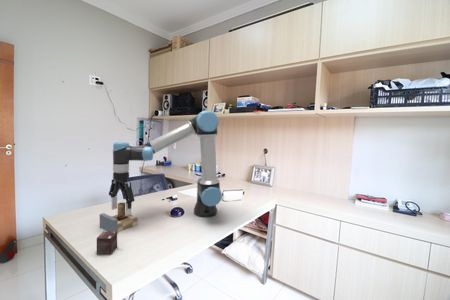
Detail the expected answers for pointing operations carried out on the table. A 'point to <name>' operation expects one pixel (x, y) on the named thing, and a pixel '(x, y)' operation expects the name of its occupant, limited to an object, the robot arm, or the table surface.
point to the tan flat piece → (126, 222)
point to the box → (106, 243)
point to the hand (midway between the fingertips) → (121, 211)
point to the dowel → (121, 211)
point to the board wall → (108, 223)
